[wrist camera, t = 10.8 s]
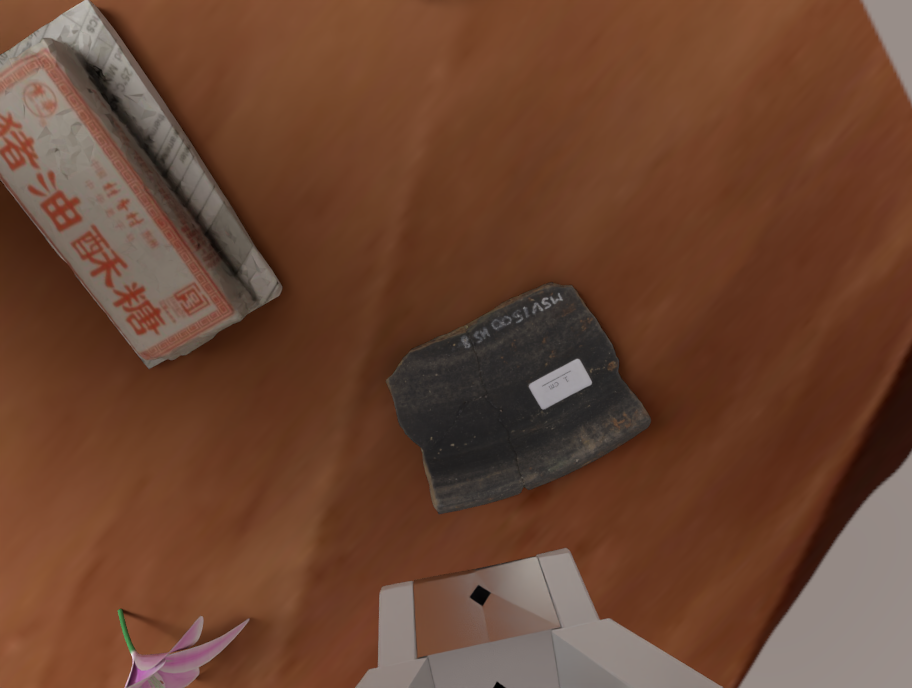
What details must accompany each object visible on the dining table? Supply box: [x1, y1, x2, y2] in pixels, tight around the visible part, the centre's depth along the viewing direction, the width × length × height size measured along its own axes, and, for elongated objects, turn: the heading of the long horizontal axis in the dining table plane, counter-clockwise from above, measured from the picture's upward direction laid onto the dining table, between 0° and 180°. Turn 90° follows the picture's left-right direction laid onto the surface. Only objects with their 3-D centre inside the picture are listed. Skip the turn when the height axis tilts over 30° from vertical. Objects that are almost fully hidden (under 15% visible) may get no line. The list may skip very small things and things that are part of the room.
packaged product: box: [0, 0, 282, 369], centre depth 35 cm, size 18×5×10 cm
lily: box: [118, 609, 249, 688], centre depth 43 cm, size 12×12×10 cm
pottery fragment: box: [386, 282, 651, 514], centre depth 41 cm, size 15×12×4 cm
